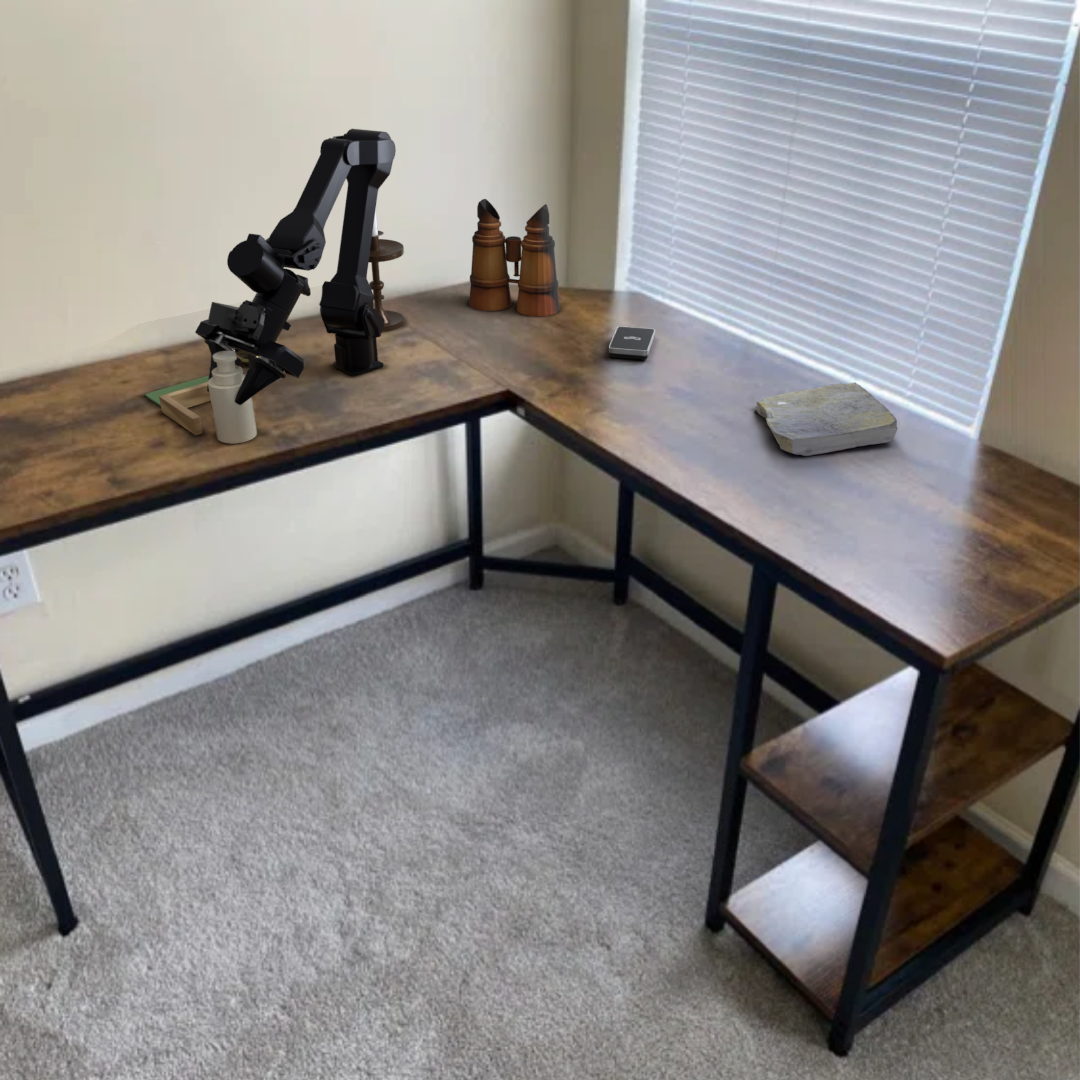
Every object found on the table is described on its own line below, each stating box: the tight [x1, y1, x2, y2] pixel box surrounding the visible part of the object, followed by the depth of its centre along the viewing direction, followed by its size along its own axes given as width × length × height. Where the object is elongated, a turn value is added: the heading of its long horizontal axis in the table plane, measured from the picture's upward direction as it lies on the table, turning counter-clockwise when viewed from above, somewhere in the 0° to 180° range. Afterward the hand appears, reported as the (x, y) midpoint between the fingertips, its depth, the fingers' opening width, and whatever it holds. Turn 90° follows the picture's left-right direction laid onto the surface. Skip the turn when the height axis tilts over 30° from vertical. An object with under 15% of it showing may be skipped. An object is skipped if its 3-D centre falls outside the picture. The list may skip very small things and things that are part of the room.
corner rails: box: [159, 382, 211, 436], centre depth 177 cm, size 13×11×3 cm
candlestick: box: [368, 209, 405, 332], centre depth 203 cm, size 11×11×35 cm
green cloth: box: [144, 375, 209, 408], centre depth 185 cm, size 12×6×1 cm, turn 132°
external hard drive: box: [608, 325, 656, 361], centre depth 200 cm, size 7×11×2 cm, turn 168°
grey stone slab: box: [754, 382, 898, 457], centre depth 172 cm, size 20×5×17 cm
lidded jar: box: [208, 351, 258, 445], centre depth 167 cm, size 6×6×13 cm
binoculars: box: [468, 198, 561, 317], centre depth 215 cm, size 18×8×20 cm, turn 72°
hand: (223, 398), depth 167 cm, fingers open, 6 cm apart
